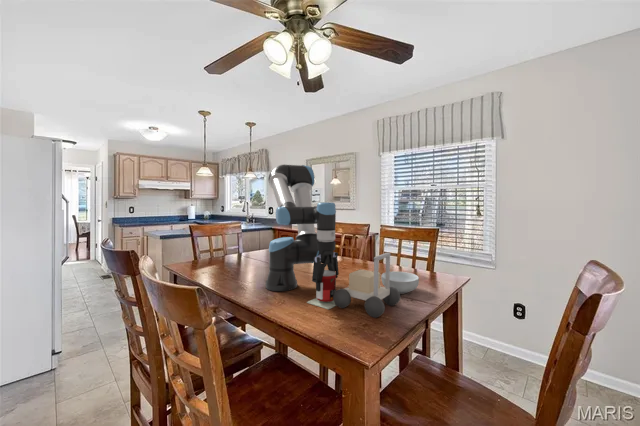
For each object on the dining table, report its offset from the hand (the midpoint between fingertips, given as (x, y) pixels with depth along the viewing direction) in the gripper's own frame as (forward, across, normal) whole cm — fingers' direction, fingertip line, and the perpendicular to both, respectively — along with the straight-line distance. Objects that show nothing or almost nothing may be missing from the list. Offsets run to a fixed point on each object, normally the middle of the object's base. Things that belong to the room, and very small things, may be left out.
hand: (325, 295), depth 114 cm
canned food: (+1, 0, 0) cm, 1 cm away
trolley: (+3, +7, -15) cm, 17 cm away
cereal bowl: (+3, +33, -18) cm, 38 cm away
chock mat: (+3, 0, 0) cm, 3 cm away
